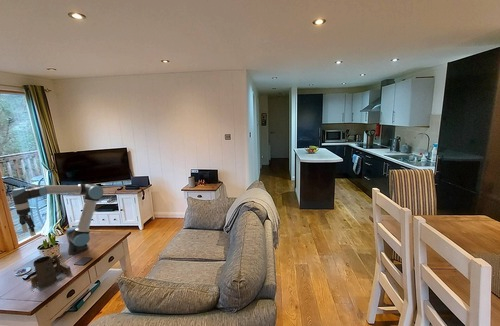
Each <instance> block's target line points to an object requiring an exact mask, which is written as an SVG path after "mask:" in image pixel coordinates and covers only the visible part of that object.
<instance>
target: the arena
mask: <svg viewBox="0 0 500 326" xmlns="http://www.w3.org/2000/svg"><path fill="white" fill-rule="evenodd" d="M53 266H54V270H55V271H56V264H55V265H54V264H53ZM59 270H60V272H62V273H63V274H65V275H67V276H69V275H71V274H72V270H71V266H69V265H67V264H65V263H64V262H62V261H60V265H59ZM29 280H30V283H31V285H32V286H34V285H36V284H38V280H37V275H36V274H34V275H31V276H30V277H29Z"/></svg>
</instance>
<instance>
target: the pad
mask: <svg viewBox="0 0 500 326" xmlns="http://www.w3.org/2000/svg"><path fill="white" fill-rule="evenodd" d="M68 276H69V275H68V274H66V273H64V272H62V271H60V272H58V273H56V278H57V280H56V282H57V283H58V281H59V282H60V281H62V280H64V279H66V278H67V277H68ZM56 282H55V283H53V284H52V285H50V286H47V287H43V288H40V287H39V286H38V283H36V284H34V285H33V287H35V288H36V289H38V291H40V292H42V291H44V290H45V289H48V288H50V287H51V286H53V285H55V284H57V283H56Z"/></svg>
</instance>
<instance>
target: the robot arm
mask: <svg viewBox="0 0 500 326" xmlns="http://www.w3.org/2000/svg"><path fill="white" fill-rule="evenodd" d="M68 194H69V195H70V194H71V195H72V194H74V195H75V194H76V195H78V196H79V195H82V196H83V195H84V202H85V203H84V204H83V205H84V206H83V209H82V212H81V215H80V218H79V221H78V225H75V226H72V227H69V228H67V229H66V230H65V232H66V233H65V234H66V237H67V242H68V243H67V244H68V248H67V253H68V255H70V256H72V255H77V254H81V253H82V252H85V251H87V249H89V245H88V243H89V242H90V239H91V237H90V233H91V229H90V226H91V222H92V219H93V216H94V212H95V210H96V206H97V203H98V202H99V201H100V200H101V198H102V197H103V195H104V189H103V188H102V187H101V186H100V185H96V184H94V183H82V184H81V183H79V184H77V185H71V184H70V185H69V184H65V185H64V184H61V185H60V184H58V185H57V184H56V185H55V184H53V185H52V184H49V185H48V184H30V185H28V186H27V187H26V188H25V187H18V188H14V189H12V190H11V195H12V200H13V203H14V206H13V207H14V208H15V209H16V210H15V211H16V214H17V215H18V216H19V217H18V219H19V225H21V229H22V233H23V234H25V233H28V232H29V234H30V237H35V236H37V233H36V230H35V227H36V225H35V223H34V221H33V218H32V215H31V214H29V213H31V212H32V211H31V207H30V202H29V200H31V199H36V198H40V197H44V196H47V195H68Z"/></svg>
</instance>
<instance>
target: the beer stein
mask: <svg viewBox="0 0 500 326" xmlns="http://www.w3.org/2000/svg"><path fill="white" fill-rule="evenodd" d="M53 261H55V263H56V264H55V265H56V271H55V270H54V263H53ZM60 263H61V261H60V258H59V257H58V255H57V254H55V255H52V257H51V256H48V255H46V256H42V257H39V258H37V259H35V260H34V261H33V263H32V264H33V265H32V266H33V267H34V270H35V275H37V280H38V283H37V284H38V286H39V287H40V288H43V287H47V286H49V287H51V286H53V285H54V284H53V283H55V282H56V280H57V278H56V274H57V273H59V272H61V271H60V270H59V265H60ZM52 284H53V285H52ZM55 284H56V283H55ZM50 285H51V286H50ZM47 288H48V287H47Z"/></svg>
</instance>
